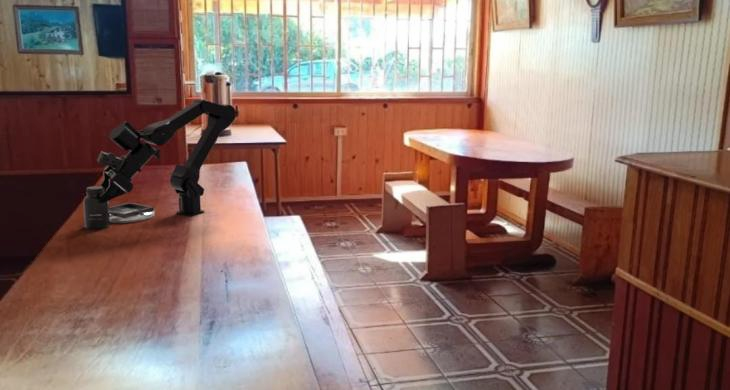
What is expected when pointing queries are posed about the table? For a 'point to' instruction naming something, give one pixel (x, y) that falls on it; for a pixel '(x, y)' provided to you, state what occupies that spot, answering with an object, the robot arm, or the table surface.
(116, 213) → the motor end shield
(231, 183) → the table surface
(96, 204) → the supplement bottle
